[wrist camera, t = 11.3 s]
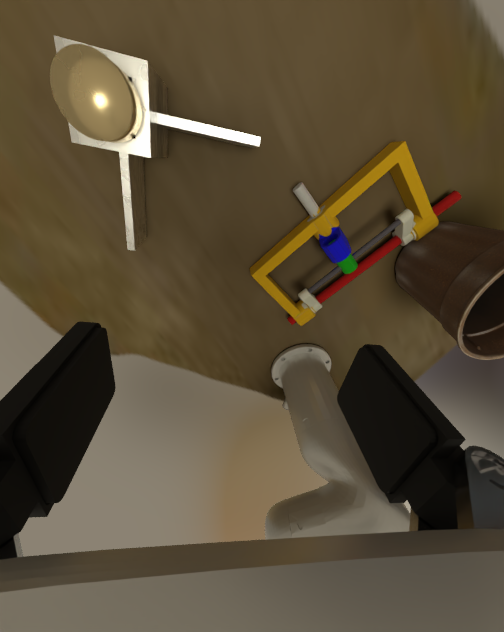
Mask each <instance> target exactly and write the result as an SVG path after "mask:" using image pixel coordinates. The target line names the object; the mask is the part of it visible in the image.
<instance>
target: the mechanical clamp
mask: <svg viewBox="0 0 504 632" xmlns="http://www.w3.org/2000/svg"><path fill="white" fill-rule="evenodd" d="M387 171H390V173H391V176H392V178H393V180H394V182H395V184H396V187H397V189H398V191H399V193H400V195H401V197H402V200H403V202H404V204H405V206H406V208H407V209H405V210H404V211H403V212H401V213H400V214H399V215H398V216H396V217H395V222H393V223H392V224H391V225H389V226H388V227H387V228H386V229H384V230H383V231H382V232H381V233H379V234H378V235H377V236H375V237H374V238H373V239H372V240H370V241H369V242H368V243H366V244H365V245H364V246H363V247H361V248H360V249H359V250H358V251H356V252H355V253H354V254H352V255H351V247H350V245H349V243H348V240H347V238H346V237H345V235H344V234H343V232H342V231H341V229H340V227H339V220H338V219H337V217H336V215H337V214H338V213H340V212H341V211H342V210H343V209H344V208H345V207H347V206H348V205H349V204H350V203H351V202H352V201H354V200H355V199H356V198H357V197H358V196H359V195H361V194H362V193H363V192H364V191H365V190H366V189H368V188H369V187H370V186H371V185H372V184H373V183H375V182H376V181H377V180H378V179H379V178H380V177H382V176H383V175H384V174H385V173H386V172H387ZM293 192H294V193H295V195H296V196H297V197H298V199H299V200H300V202H301V203H302V204H303V206H304V207H305V209H306V210H307V212H308V213H309V214H310V215H309V216H308V217H307V218H305V219H304V220H303V221H302V222H301V223H300V224H299V225H298V226H296V227H295V228H294V229H293V230H292V231H291V232H290V233H289V234H288V235H286V236H285V237H284V238H283V239H282V240H281V241H280V242H279V243H277V244H276V245H275V246H274V247H273V248H272V249H271V250H270V251H268V252H267V253H266V254H265V255H264V256H263V257H262V258H261V259H259V260H258V261H257V262H256V263H255V264H254V265H253V266H252V267H250V268H249V269H250V272H251V276H252V277H253V278H254V279H255V280H256V281H257V282H258V283H259V284H260V285H261V286H262V287H263V288H264V289H265V290H266V291H267V292H268V293H269V294H270V295H271V296H272V297H273V298H274V299H275V300H276V301H277V302H278V303H279V304H280V305H281V306H282V307H283V308H284V309H285V310H286V311H287V312H288V313H289V314H290V315H291V316H289V317H288V318H287V319H288V321H289V322H290V323H291V324H292V325H293V324H294V323H296V322H297V323H298V324H299V325H301V326H302V325H304V324H305V323H306V322H308V321H309V320H310V319H312V318H313V317H315V316H316V314H315V313H316V311H318V310H319V309H320V308H322V307H323V306H322V305H321V303H322V302H324V301H325V300H326V299H328V298H329V297H330V296H332V295H333V294H334V293H336V292H337V291H338V290H340V289H341V288H342V287H344V286H345V285H346V284H348V283H349V282H350V281H352V280H353V279H354V278H356V277H357V276H358V275H360V274H361V273H362V272H364V271H365V270H366V269H368V268H369V267H370V266H372V265H373V264H374V263H376V262H377V261H378V260H380V259H381V258H382V257H384V256H385V255H386V254H388V253H389V252H390V251H392V250H393V249H394V248H396V247H397V246H398V245H401V246H405V245H406V244H408V243H409V242H411V241H412V240H415V241H418V240H419V239H420V238H422V237H423V236H424V235H426V234H427V233H429V232H430V231H431V230H433V229H434V228H435V227H437V226H438V224H439V221H438V218H437V216H439V215H440V214H441V213H443V212H444V211H445V210H447V209H448V208H449V207H451V206H452V205H453V204H455V203H456V202H457V201H459V200H460V199H461V195H460V193H459V192H457V191H453V192H452V193H450V194H449V195H448V196H446V197H445V198H444V199H442V200H441V201H440V202H439V203H437V204H436V205H435V206H433V207H432V208H431V205H430V202H429V200H428V197H427V195H426V192H425V190H424V187H423V185H422V182H421V180H420V177H419V175H418V172H417V170H416V167H415V165H414V162H413V160H412V157H411V155H410V152H409V150H408V147H407V145H406V142H405V141H401V142H391V143H390V144H388V145H387V146H386V147H385V148H384V149H383V150H382V151H381V152H379V153H378V154H377V155H376V156H375V157H374V158H373V159H372V160H371V161H369V162H368V163H367V164H366V165H365V166H364V167H363V168H362V169H360V170H359V171H358V172H357V173H356V174H355V175H354V176H353V177H351V178H350V179H349V180H348V181H347V182H346V183H345V184H344V185H342V186H341V187H340V188H339V189H338V190H337V191H336V192H335V193H334V194H332V195H331V196H330V197H329V198H328V199H327V200H326V201H325V202H323V203H322V204H321V205H320V206H319V207H318V205H317V204H316V202H315V201H314V199H313V198H312V196H311V195H310V193H309V192H308V190H307V189H306V187H305V186H304V184H303V183H302V182H301V183H299V184H298V185H297V186H295V188H294V189H293ZM393 229H395V231H394V232H393V233H392V235H393V238H391V239H390V240H389V241H388V242H386V243H385V244H384V245H382V246H381V247H380V248H378V249H377V250H376V251H374V252H373V253H372V254H371V255H369V256H368V257H367V258H365V259H364V260H363V261H361V262H360V263H359V264H357V262H356V261H355V259H356V258H357V257H358V256H360V255H361V254H362V253H364V252H365V251H366V250H367V249H369V248H370V247H371V246H373V245H374V244H375V243H376V242H378V241H379V240H380V239H382V238H383V237H384V236H386V235H387V234H388V233H389V232H391V231H392V230H393ZM313 235H314V236H315V237H316V239H318V240H319V242H320V246H321V248H322V249H323V250H324V252H325V253H326V255H327V256H328V257H329V259H330V260H331V261H332V262H333V263H337V265H338V266H337V267H336V268H335V269H333V270H332V271H331V272H329V273H328V274H327V275H326V276H324V277H323V278H322V279H321V280H319V281H318V282H317V283H315V284H314V285H313V286H312V287H310V288H309V289H308V290H307V289H306V288H305V289H304V290H303V291H301V292H300V293H299V294H298V296H299V298H300V301H298V302H297V303H295V302H294V301H293V300H292V299H291V298H290V297H289V296H288V295H287V294H286V293H285V292H284V291H283V290H282V289H281V287H280V286H279V285H278V284H277V283H276V282H275V281H274V280H273V279H272V278H271V277H270V276H269V275H268V273H270V272H271V271H272V270H273V269H274V268H275V267H277V266H278V265H279V264H280V263H281V262H282V261H284V260H285V259H286V258H287V257H288V256H289V255H291V254H292V253H293V252H294V251H295V250H296V249H298V248H299V247H300V246H301V245H302V244H303V243H305V242H306V241H307V240H308V239H309V238H310V237H312V236H313ZM340 270H342V272H343V273H344V275H343V276H342V277H340V278H339V279H338V280H337V281H335V282H334V283H333V284H331V285H330V286H329V287H327V288H326V289H325V290H323V291H322V292H321V293H320V294H318V295H317V296H316V297H315V296H314V295H313V294H311V293H312V292H313V291H315V290H316V289H317V288H318V287H320V286H321V285H322V284H324V283H325V282H326V281H327V280H329V279H330V278H331V277H333V276H334V275H335V274H336V273H338V272H339V271H340Z"/></svg>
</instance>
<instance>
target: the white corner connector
mask: <svg viewBox="0 0 504 632" xmlns="http://www.w3.org/2000/svg"><path fill="white" fill-rule="evenodd" d="M54 40H55V46H56V52H57V53H58V52H59V51H60V50H61V49H62V48H63V47H65V46H68V45H71V44H83V45H87V44H84V43H80V42H76V41H72V40H69V39H65V38H61V37H58V36H54ZM87 46H90V47H93V48H95V49H97V50H98V51H100V52H101V53H103V54H104V55H105V56H106V57H108V58H109V59H110V60H111V61H112V62H113V63H114V64H115V65H117V66H118V67H119V68H120V69H121V70H122V71H123V72H124V73H125V74H126V75H127V76H128V77H129V79H130V80H131V81H132V83H133V85H134V86H135V88H136V90H137V93H138V95H139V98H140V101H141V106H142V121H141V125H140V128H139V130H138V132H137V133H136V135H135V136H136V139H133V138H131V139H130V140H128V141H126V142H122V143H113V142H106V141H98V140H94V139H91V138H89V137H87V136H85V135H83V134H82V133H80V132H79V131H78V130H76V129H75V128H74V127H73V126H72V125H71V124H70V123H69V122H68V123H69V129H70V134H71V140H72V142H73V143H78V144H83V145H88V146H93V147H98V148H103V149H108V150H113V151H118V152H119V156H120V167H121V179H122V190H123V202H124V213H125V225H126V236H127V247H128V250H134V251H135V250H136V249H137V248H138V247H139V245H140V244H141V243H142V242H143V241H144V240H145V239H146V238H147V224H146V202H145V179H144V157H148V158H168V129H169V130H173V131H178V132H182V133H187V134H191V135H196V136H200V137H205V138H209V139H214V140H218V141H223V142H227V143H231V144H236V145H240V146H245V147H249V148H256V147H259V145H260V139H261V137H258V136H254V135H250V134H246V133H241V132H237V131H233V130H229V129H224V128H220V127H216V126H211V125H207V124H203V123H199V122H194V121H190V120H186V119H182V118H177V117H173V116H169V115H168V88H167V86H166V85H165V84H164V82H163V81H162V80H161V78H160V77H159V76H158V74H157V73H156V71H155V70H154V69H153V67H152V66H151V65H150V63H149V62H148V61H146V60H143V59H139V58H135V57H132V56H128V55H124V54H120V53H117V52H113V51H109V50H106V49H102V48H98V47H95V46H91V45H87Z"/></svg>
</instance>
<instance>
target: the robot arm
mask: <svg viewBox="0 0 504 632" xmlns="http://www.w3.org/2000/svg"><path fill="white" fill-rule="evenodd" d="M330 369H331V359H330V357H329V355H328V353H327V352H326V351H325V350H324V349H323V348H321V347H319V346H317V345H313V344H301V345H296V346H293V347H290V348H288V349H286V350H285V351H283V352H282V353H281V354H279V355H278V356H277V357H276V359H275V360H274V362H273V364H272V368H271V374H272V378H273V380H274V382H275V383H276V384H277V385H278V386H279V387H281V388H283V390H284V394H285V397H286V398H285V400H284V403H283V407H284V408H285V409H286V410H289V412H290V415H291V419H292V422H293V426H294V430H295V433H296V437H297V440H298V444H299V448H300V451H301V454H302V456H303V458H304V460H305V461H306V463H307V464H308V466H310V468H311V469H313V470H314V471H315V472H316V473H317V474H319V475H320V476H321V477H323V478H324V479H325V480H327V481H328V482H329V483H328V484H326V485H324V486H322V487H320V488H318V489H315V490H312V491H309V492H306V493H303V494H300V495H297V496H294V497H291V498H288V499H285V500H282V501H280V502H278V503H276V504H275V505H273V506H272V507H271V509H270V510H269V512H268V513H267V516H266V521H265V538H266V540H251V541H234V542H218V543H203V544H188V545H172V546H159V547H143V548H126V549H112V550H98V551H87V552H75V553H63V554H51V555H39V556H27V557H23V554H22V549H21V543H20V538H19V532H20V531H21V530H22V528H23V526H24V525H25V523H26V521H27V519H28V518H29V517H47V515H48V514H49V512H50V510H51V508H52V506H53V504H54V503H58V502H60V501H61V499H62V498H63V496H64V494H65V493H66V491H67V489H68V487H69V484H70V483H71V481H72V478H73V476H74V474H75V472H76V470H77V468H78V466H79V464H80V462H81V460H82V458H83V456H84V454H85V452H86V450H87V448H88V446H89V444H90V442H91V440H92V438H93V436H94V434H95V432H96V430H97V428H98V426H99V424H100V422H101V419H102V418H103V415H104V413H105V411H106V409H107V407H108V405H109V403H110V401H111V399H112V397H113V395H114V392H115V381H114V375H113V368H112V361H111V355H110V349H109V343H108V336H107V331H106V329H105V328H101V325H100V324H99V323H91V322H78V323H76V324H75V325H74V326H73V327H72V328H71V329H70V330H69V331H68V332H67V333H66V335H65V336H64V337H63V338H62V339H61V340H60V341H59V342H58V343H57V344H56V345H55V346H54V347H53V348H52V349H51V350H50V351H49V352H48V353H47V354H46V355H45V356H44V357H43V358H42V359H41V360H40V361H39V362H38V363H37V364H36V365H35V366H34V367H33V368H32V369H31V370H30V371H29V372H28V373H27V374H26V375H25V376H24V377H23V378H22V379H21V380H20V381H19V382H18V383H17V385H15V386H14V387H13V388H12V390H11V391H10V392H9V393H8V394H7V395H6V396H5V397H4V398H3V399H2V400H1V401H0V632H504V459H503V458H502V457H500V456H498V455H497V454H495V453H493V452H492V451H490V450H487V449H485V448H483V447H478V446H469V447H468V448H466V449H465V450H463V449H462V448H461V447H460V445H461V444H462V443H463V441H464V440H465V438H464V437H463V436H462V435H461V434H460V433H459V431H458V430H457V429H456V428H455V427H454V426H453V425H452V424H451V423H450V422H449V420H448V419H447V418H446V417H445V416H444V415H443V414H442V412H441V411H440V410H439V409H438V408H437V407H436V406H435V405H434V403H433V402H432V401H431V400H430V399H429V398H428V397H427V396H426V395H425V393H424V392H423V391H422V390H421V389H420V388H419V387H418V386H417V384H416V383H415V382H414V381H413V380H412V379H411V378H410V377H409V375H408V374H407V373H406V372H405V371H404V370H403V369H402V368H401V367H400V365H399V364H398V363H397V362H396V361H395V360H394V359H393V358H392V356H391V355H390V354H389V353H388V352H387V351H386V350H385V349H384V348H383V347H382V346H380V345H370V344H366V345H364V346H363V347H362V348H360V349H359V350H358V352H357V354H356V357H355V359H354V361H353V363H352V365H351V367H350V369H349V371H348V373H347V376H346V378H345V380H344V382H343V384H342V386H341V388H340V390H339V391H338V389H337V387H336V385H335V383H334V381H333V379H332V377H331V375H330V373H329V372H330ZM406 500H408V502H409V504H410V506H411V513H409V511H408V510H407V508H406V506H405V505H404V502H405V501H406Z"/></svg>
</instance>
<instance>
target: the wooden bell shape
mask: <svg viewBox="0 0 504 632" xmlns="http://www.w3.org/2000/svg"><path fill="white" fill-rule="evenodd" d="M50 83H51V89H52V93H53V96H54V99H55V101H56V103H57V106H58V107H59V109H60V111H61V113H62V114H63V116H64V117H65V118H66V120H67V121H68V122H69V123H70V124H71V125H72V126H73V127H74V128H75V129H76V130H78V131H79V132H80V133H82V134H83V135H85V136H87V137H89V138H91V139H94V140H98V141H106V142H113V143H122V142H126V141H128V140H130V139H131V138H133V137H134V136H135V135H136V133H137V132H138V130H139V128H140V125H141V121H142V106H141V101H140V98H139V95H138V93H137V90H136V88H135V86H134V85H133V83H132V81H131V80H130V79H129V77H128V76H127V75H126V74H125V73H124V72H123V71H122V70H121V69H120V68H119V67H118V66H117V65H115V64H114V63H113V62H112V61H111V60H110V59H109V58H108V57H106V56H105V55H104V54H103V53H101V52H100V51H98V50H97V49H95V48H93V47H90V46H87V45H83V44H71V45H68V46H65V47H63V48H62V49H61V50H60V51H59V52H58V53H57V54H56V55H55V57H54V59H53V61H52V64H51V69H50Z"/></svg>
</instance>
